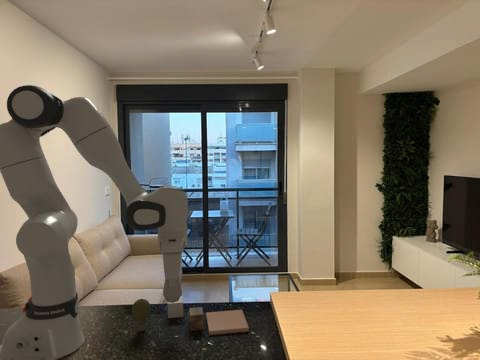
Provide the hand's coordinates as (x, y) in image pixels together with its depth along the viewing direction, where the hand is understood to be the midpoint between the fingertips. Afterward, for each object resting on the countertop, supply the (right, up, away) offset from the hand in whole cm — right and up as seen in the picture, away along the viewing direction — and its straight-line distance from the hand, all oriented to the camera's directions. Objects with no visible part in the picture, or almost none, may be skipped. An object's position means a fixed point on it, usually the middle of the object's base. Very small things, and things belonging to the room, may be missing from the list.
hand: (172, 283), depth 110 cm
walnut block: (+7, -14, +3) cm, 16 cm away
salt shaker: (0, -5, +1) cm, 5 cm away
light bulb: (-9, -15, 0) cm, 17 cm away
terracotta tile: (+16, -14, +4) cm, 22 cm away
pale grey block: (-1, -14, +11) cm, 17 cm away
